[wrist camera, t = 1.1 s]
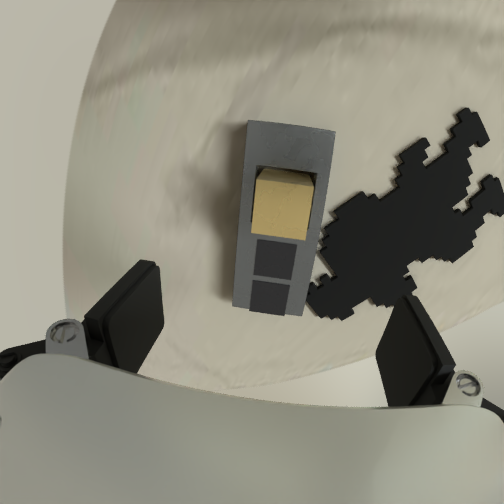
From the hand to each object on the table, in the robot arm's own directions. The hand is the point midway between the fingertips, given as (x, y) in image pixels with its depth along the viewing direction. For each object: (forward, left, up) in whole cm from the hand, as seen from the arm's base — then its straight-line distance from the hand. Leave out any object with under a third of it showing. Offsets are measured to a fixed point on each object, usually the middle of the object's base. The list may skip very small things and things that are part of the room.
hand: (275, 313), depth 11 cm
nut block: (0, 0, -20) cm, 20 cm away
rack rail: (+3, 0, -20) cm, 21 cm away
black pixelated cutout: (+1, +15, -21) cm, 26 cm away
